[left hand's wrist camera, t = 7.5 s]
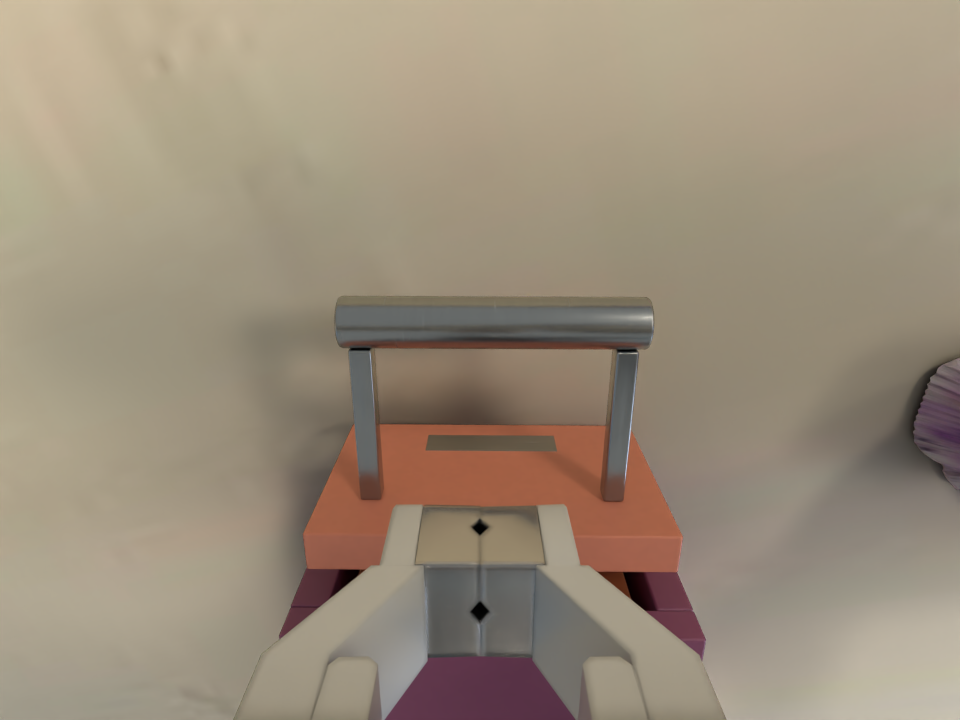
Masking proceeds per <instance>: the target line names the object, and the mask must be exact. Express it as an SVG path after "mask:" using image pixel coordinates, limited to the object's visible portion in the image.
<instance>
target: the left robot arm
mask: <svg viewBox="0 0 960 720" xmlns="http://www.w3.org/2000/svg"><path fill="white" fill-rule="evenodd" d="M475 656H483V657H518V658H532V661H533V662H534V663H535V665H536V666H537V667H538V669H539V670H540V672H541V673H542V674H543V676H544V677H545V678H546V680H547V681H548V683H549V684H550V685H551V687H552V688H553V689H554V691H555V692H556V693H557V695H558V696H559V698H560V699H561V700H562V702H563V703H564V704H565V706H566V707H567V709H568V710H569V711H570V713H571V714H572V715H573V717H574V718H575V720H726V717H725V715H724V713H723V710H722V708H721V706H720V703H719V701H718V698H717V696H716V694H715V691H714V689H713V687H712V684H711V682H710V679H709V677H708V675H707V672H706V670H705V668H704V665H703V663H702V660H701V658H700V656H699V654H697V653H696V652H695V651H694V650H692V649H691V648H690V647H689V646H688V645H686V644H685V643H684V642H683V641H681V640H680V639H679V638H678V637H676V636H675V635H674V634H673V633H672V632H670V631H669V630H668V629H667V628H665V627H664V626H663V625H662V624H660V623H659V622H658V621H657V620H656V619H654V618H653V617H652V616H651V615H649V614H648V613H647V612H646V611H645V610H643V609H642V608H641V607H640V606H638V605H637V604H636V603H635V602H633V601H632V600H631V599H630V598H629V597H627V596H626V595H625V594H624V593H622V592H621V591H620V590H619V589H617V588H616V587H615V586H614V585H613V584H611V583H610V582H609V581H608V580H606V579H605V578H604V577H603V576H601V575H600V574H599V573H598V572H597V571H595V570H594V569H593V568H592V567H590V566H589V565H580V561H579V557H578V552H577V548H576V544H575V540H574V536H573V532H572V527H571V523H570V519H569V515H568V511H567V507H566V506H565V505H564V504H550V505H536V506H470V505H424V506H423V505H422V504H396V505H395V507H394V508H393V510H392V514H391V518H390V523H389V527H388V531H387V535H386V540H385V544H384V548H383V552H382V557H381V561H380V565H371V566H370V567H368V568H367V569H366V570H365V571H363V572H362V573H361V574H360V575H359V576H357V577H356V578H355V579H354V580H352V581H351V582H350V583H349V584H347V585H346V586H345V587H344V588H342V589H341V590H340V591H339V592H338V593H336V594H335V595H334V596H333V597H331V598H330V599H329V600H328V601H326V602H325V603H324V604H323V605H321V606H320V607H319V608H318V609H317V610H315V611H314V612H313V613H312V614H310V615H309V616H308V617H307V618H305V619H304V620H303V621H302V622H300V623H299V624H298V625H297V626H295V627H294V628H293V629H292V630H291V631H289V632H288V633H287V634H286V635H284V636H283V637H282V638H281V639H279V640H278V641H277V642H276V643H274V644H273V645H272V646H271V647H270V648H268V649H267V650H266V651H265V652H263V653H262V654H261V656H260V659H259V661H258V663H257V666H256V668H255V671H254V673H253V675H252V678H251V680H250V682H249V685H248V687H247V689H246V692H245V694H244V696H243V699H242V701H241V703H240V706H239V708H238V710H237V713H236V715H235V717H234V720H385V719H386V717H387V716H388V714H389V713H390V712H391V710H392V709H393V708H394V706H395V705H396V704H397V702H398V701H399V699H400V698H401V697H402V695H403V694H404V693H405V691H406V690H407V689H408V687H409V686H410V684H411V683H412V682H413V680H414V679H415V678H416V676H417V675H418V674H419V672H420V671H421V669H422V668H423V667H424V665H425V664H426V663H427V661H428V658H441V657H475Z"/></svg>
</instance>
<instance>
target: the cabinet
mask: <svg viewBox="0 0 960 720" xmlns="http://www.w3.org/2000/svg"><path fill="white" fill-rule="evenodd" d="M359 571H360V570H355V569H308V568H306V571H305V573H304V576H303V578H302V580H301V583H300V585H299V588H298V590H297V592H296V595H295V597H294V600H293V602H292V604H291V609H290V611H289V613H288V615H287V618H286V620H285V623H284V625H283V627H282V630H281V632H280V635H279V638H280V639H281V638H282V637H283V636H284V635H286V634H287V633H288V632H289V631H291V630H292V629H293V628H294V627H295V626H297V625H298V624H299V623H300V622H302V621H303V620H304V619H305V618H307V617H308V616H309V615H310V614H312V613H313V612H314V611H315V610H317V609H318V608H319V607H320V606H321V605H323V604H324V603H325V602H326V601H328V600H329V599H330V598H331V597H333V596H334V595H335V594H336V593H338V592H339V591H340V590H341V589H342V588H344V587H345V586H346V585H347V584H349V583H350V582H351V581H352V580H354V579H355V578H356V577H357V576H358V574H359ZM623 574H624V577H625V581H626V584H627V587H628V590H629V594H630V597H631V600H632V601H633V602H635V603H636V604H637V605H638V606H640V607H641V608H642V609H643V610H645V611H646V612H647V613H648V614H649V615H651V616H652V617H653V618H654V619H656V620H657V621H658V622H659V623H660V624H662V625H663V626H664V627H665V628H667V629H668V630H669V631H670V632H672V633H673V634H674V635H675V636H676V637H678V638H679V639H680V640H681V641H683V642H684V643H685V644H686V645H688V646H689V647H690V648H691V649H692V650H694V651H695V652H696V653H697V654H699V656H700V658H701V660H702V659H703V654H704V649H705V643H706V639H705V637H704V634H703V632H702V630H701V627H700V625H699V623H698V620H697V618H696V616H695V613H694V612H693V609H692V606H691V604H690V602H689V599H688V597H687V595H686V592H685V590H684V588H683V586H682V583H681V581H680V579H679V576H678V574H677V572H623ZM385 720H575V718H574V717H573V715H572V714H571V713H570V711H569V710H568V709H567V707H566V706H565V704H564V703H563V702H562V700H561V699H560V698H559V696H558V695H557V693H556V692H555V691H554V689H553V688H552V687H551V685H550V684H549V683H548V681H547V680H546V678H545V677H544V676H543V674H542V673H541V672H540V670H539V669H538V667H537V666H536V665H535V663H534V662H533V661H532V658H518V657H483V656H475V657H441V658H428V661H427V663H426V664H425V665H424V667H423V668H422V669H421V671H420V672H419V674H418V675H417V676H416V678H415V679H414V680H413V682H412V683H411V684H410V686H409V687H408V689H407V690H406V691H405V693H404V694H403V695H402V697H401V698H400V699H399V701H398V702H397V704H396V705H395V706H394V708H393V709H392V710H391V712H390V713H389V714H388V716H387V717H386V719H385Z"/></svg>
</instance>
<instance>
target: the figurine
mask: <svg viewBox="0 0 960 720" xmlns="http://www.w3.org/2000/svg"><path fill="white" fill-rule="evenodd" d="M930 380H931V381H930V382H929V383H928V384H927V385H928V388H927V389H926V390H925V393H926V395H924V396H923V397H922V398H923V402H921V403H920V405H921V408H919V409H918V413H919V414H918V415H916V420H915V422H914V427H915V430H914V431H913V434H914V438H915V439H914V442H915V444H916V445H917V446H918V448H919V449H920V450H921V451H922V452H923V453H924V454H925V455H926V456H928V457H929V458H931V459H932V460H934V461H936V462H938V463H940V464H942V466H943V468H944V469H943V470H942V472H943V474H944V476H945V477H946V479H947V480H948V481H949V482H950V483H951V484H952V485H953V486H954V487H955V489H959V490H960V358H957V359H955V360H952V361H950V362H948V363H945V364H943V365H941V366H940V367H939V368H938V369H937V373H936V374H934V375H933V376H932V377H930Z"/></svg>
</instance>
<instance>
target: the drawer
mask: <svg viewBox="0 0 960 720" xmlns="http://www.w3.org/2000/svg"><path fill="white" fill-rule="evenodd" d="M334 327H335V335H336V340H337V343H338V345H339V346H340V347H341V348H350V349H349V351H348V356H349V367H350V379H351V391H352V403H353V414H354V424H353V426H352V428H351V430H350V432H349V435H348V437H347V439H346V441H345V443H344V445H343V448H342V450H341V452H340V454H339V456H338V459H337V461H336V463H335V465H334V467H333V469H332V472H331V474H330V476H329V478H328V480H327V482H326V485H325V487H324V489H323V491H322V493H321V496H320V498H319V500H318V502H317V504H316V506H315V509H314V511H313V513H312V515H311V517H310V520H309V522H308V524H307V526H306V528H305V530H304V533H303V540H304V548H305V555H306V563H307V568H308V569H355V570H360V571H359V574H358V576H359V575H360V574H361V573H362V572H363V571H365V570H366V569H367V568H368V567H370V566H371V565H380V561H381V557H382V552H383V548H384V544H385V540H386V535H387V531H388V527H389V523H390V518H391V514H392V510H393V508H394V507H395V505H396V504H422V505H423V506H424V505H470V506H536V505H550V504H564V505H565V506H566V507H567V511H568V515H569V519H570V523H571V527H572V532H573V536H574V540H575V544H576V548H577V552H578V557H579V561H580V565H589V566H590V567H592V568H593V569H594V570H595V571H597V572H598V573H599V574H600V575H601V576H603V577H604V578H605V579H606V580H608V581H609V582H610V583H611V584H613V585H614V586H615V587H616V588H617V589H619V590H620V591H621V592H622V593H624V594H625V595H626V596H627V597H629V598H630V599H631V597H630V594H629V590H628V587H627V584H626V581H625V577H624V574H623V572H677V571H678V567H679V560H680V554H681V547H682V541H683V536H682V534H681V532H680V530H679V528H678V526H677V524H676V522H675V520H674V518H673V516H672V513H671V511H670V509H669V507H668V505H667V503H666V501H665V499H664V497H663V495H662V493H661V491H660V489H659V487H658V484H657V482H656V480H655V478H654V476H653V474H652V472H651V470H650V468H649V466H648V464H647V462H646V460H645V458H644V455H643V453H642V451H641V449H640V447H639V445H638V443H637V441H636V439H635V437H634V435H633V433H632V431H631V425H632V416H633V406H634V397H635V387H636V378H637V368H638V359H639V352H638V351H637V350H645V349H648V348H649V347H650V344H651V342H652V338H653V333H654V311H653V306H652V303H651V300H650V299H649V298H647V297H483V296H341V297H339V298H338V300H337V303H336V307H335V316H334ZM375 348H418V349H609V350H612V360H611V371H610V383H609V394H608V405H607V417H606V426H568V425H416V424H380V421H379V406H378V391H377V377H376V362H375Z"/></svg>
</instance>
